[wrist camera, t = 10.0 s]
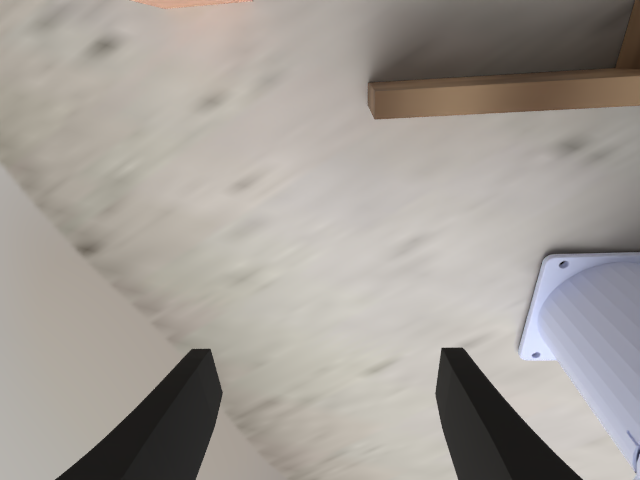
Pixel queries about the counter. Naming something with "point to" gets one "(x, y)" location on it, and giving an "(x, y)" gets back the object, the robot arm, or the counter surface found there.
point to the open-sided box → (516, 88)
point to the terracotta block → (185, 2)
